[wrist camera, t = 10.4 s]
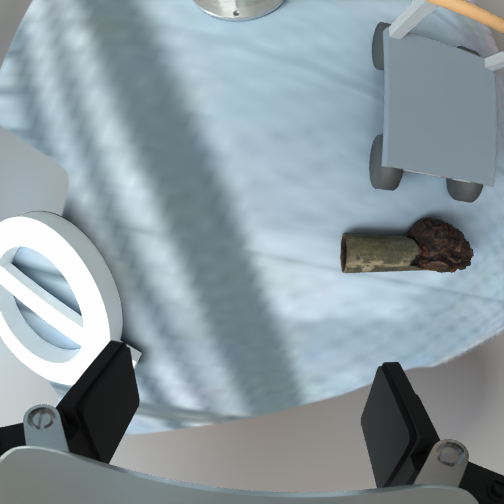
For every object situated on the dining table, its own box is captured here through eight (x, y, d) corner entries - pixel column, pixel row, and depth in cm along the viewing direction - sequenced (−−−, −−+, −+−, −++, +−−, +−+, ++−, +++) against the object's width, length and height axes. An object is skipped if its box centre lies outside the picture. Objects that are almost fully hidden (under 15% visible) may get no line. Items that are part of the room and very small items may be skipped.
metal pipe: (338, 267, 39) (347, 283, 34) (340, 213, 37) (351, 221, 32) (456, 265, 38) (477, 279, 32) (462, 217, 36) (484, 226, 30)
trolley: (367, 31, 30) (421, -39, 13) (461, 57, 29) (542, 22, 12) (363, 185, 36) (431, 207, 19) (459, 199, 35) (550, 228, 18)
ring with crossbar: (-19, 239, 42) (-37, 246, 38) (82, 183, 38) (63, 187, 34) (39, 372, 49) (26, 384, 45) (152, 361, 45) (141, 380, 41)
